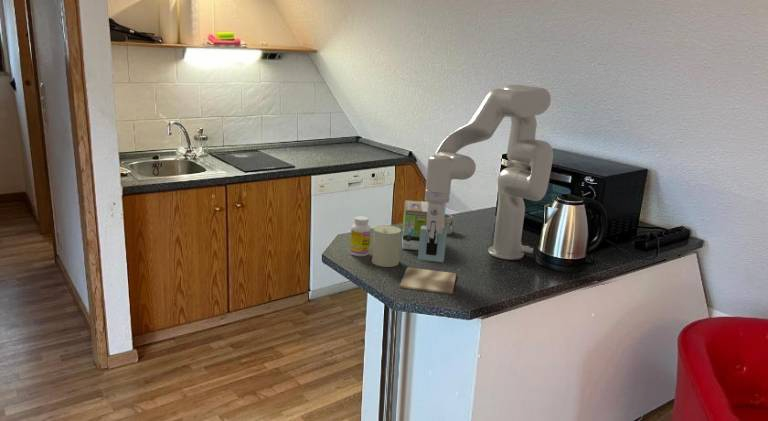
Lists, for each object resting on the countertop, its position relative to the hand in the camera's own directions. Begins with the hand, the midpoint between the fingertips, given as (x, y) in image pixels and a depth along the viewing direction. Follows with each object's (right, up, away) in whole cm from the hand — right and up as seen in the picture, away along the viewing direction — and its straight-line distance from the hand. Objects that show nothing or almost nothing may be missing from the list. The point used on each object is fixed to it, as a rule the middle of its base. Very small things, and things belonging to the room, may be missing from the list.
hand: (431, 252), depth 188 cm
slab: (0, -2, +1) cm, 2 cm away
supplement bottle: (-24, -2, +19) cm, 30 cm away
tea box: (-4, +1, +33) cm, 34 cm away
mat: (-1, -9, -1) cm, 9 cm away
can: (-15, -4, +13) cm, 20 cm away
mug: (+8, +5, +51) cm, 52 cm away
